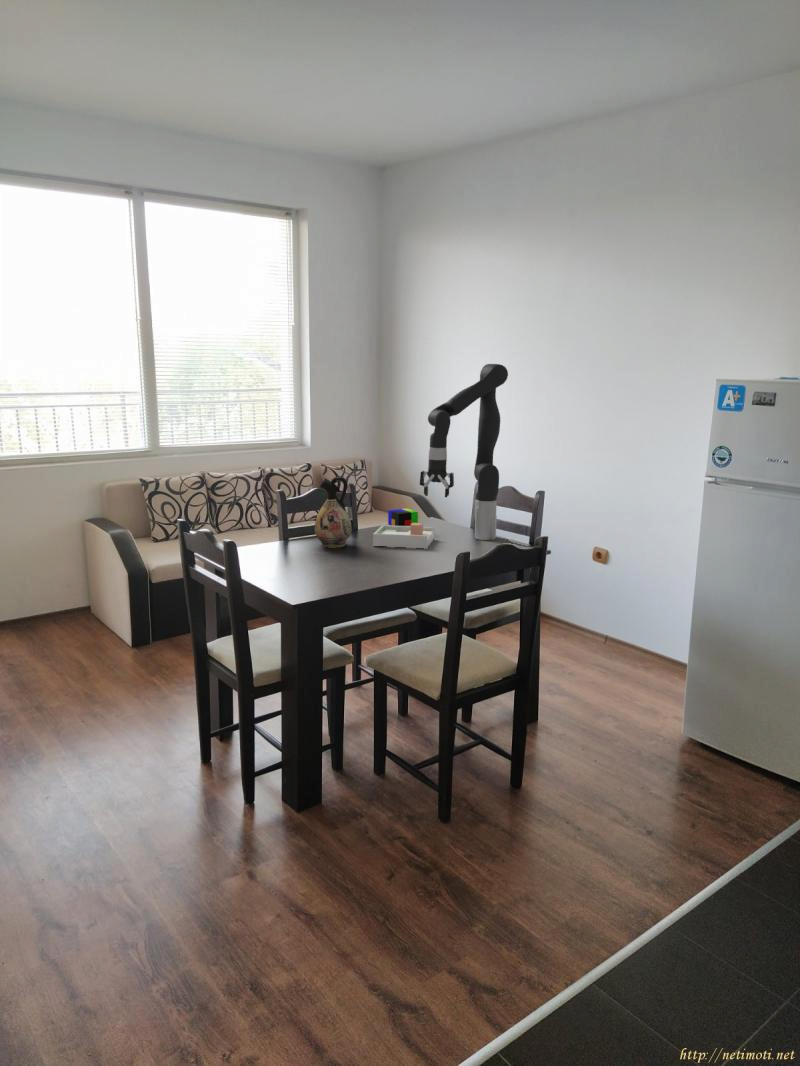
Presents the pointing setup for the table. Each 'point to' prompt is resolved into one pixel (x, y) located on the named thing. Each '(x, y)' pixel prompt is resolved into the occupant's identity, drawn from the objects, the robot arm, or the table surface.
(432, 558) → the table surface
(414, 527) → the block
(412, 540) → the box
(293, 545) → the table surface
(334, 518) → the ceramic jug
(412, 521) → the puzzle toy
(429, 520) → the table surface
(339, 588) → the table surface
